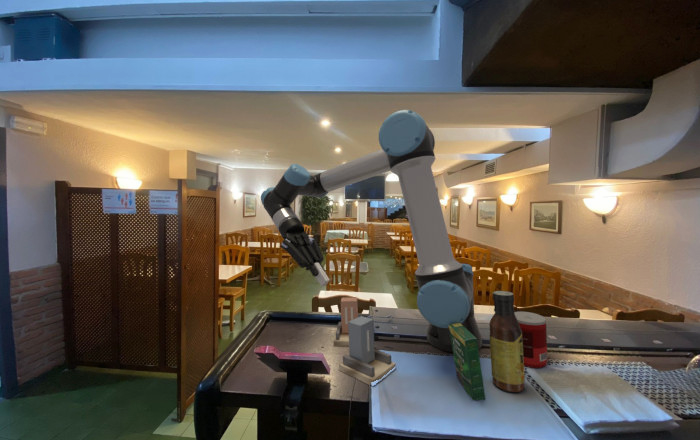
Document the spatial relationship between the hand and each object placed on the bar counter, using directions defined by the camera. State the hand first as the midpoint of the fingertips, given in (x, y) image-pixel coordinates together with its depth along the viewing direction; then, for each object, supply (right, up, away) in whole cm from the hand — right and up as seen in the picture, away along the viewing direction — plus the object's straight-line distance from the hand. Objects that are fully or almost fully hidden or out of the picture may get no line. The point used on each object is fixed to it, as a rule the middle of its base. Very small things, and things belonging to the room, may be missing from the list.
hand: (325, 283), depth 77 cm
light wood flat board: (+9, -19, -1) cm, 21 cm away
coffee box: (+33, -19, -18) cm, 42 cm away
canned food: (+52, -18, -8) cm, 55 cm away
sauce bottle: (+41, -18, -18) cm, 48 cm away
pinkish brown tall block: (+7, -17, +10) cm, 21 cm away
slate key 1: (+10, -17, -9) cm, 22 cm away
